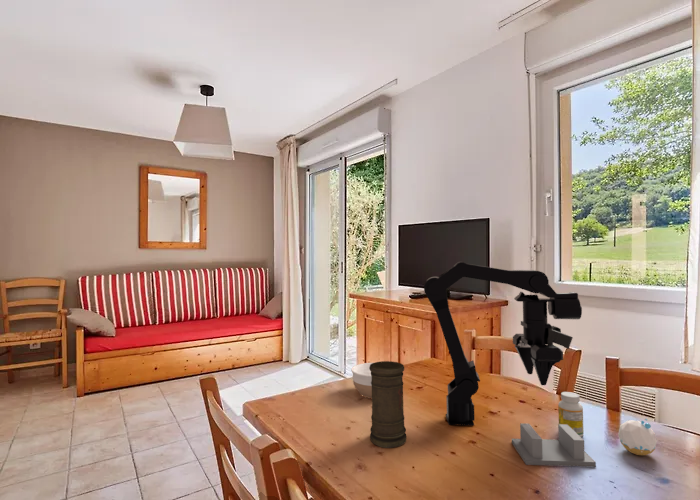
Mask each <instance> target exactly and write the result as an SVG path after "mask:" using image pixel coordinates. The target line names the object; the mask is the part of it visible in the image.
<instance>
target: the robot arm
mask: <svg viewBox="0 0 700 500" xmlns="http://www.w3.org/2000/svg"><path fill="white" fill-rule="evenodd" d="M462 278H469V279H475V280H481V281H487V282H493V283H499V284H505V285H510V286H512V287H515V288H518V289H522V290H523V291H527V292H530V293H533V294H525V293H524V292H523V291H519V293H518V294H517V295H516V296H515V297H514V300H515V301H516V302H520V303H521V302H522V320H520V325H521V326H522V327H523V328H522V330H523V332H522V333H515V334H514V335H513V336H512V344H513V345H514V348H515V349H516V351H517V354H518V356H519V358H520V360H521V362H522V364H523V367H524V368H525V370H526V373H527V375H533V372H534V370H535V372H536V374H537V378H538V381H539V383H540V385H541V386H546V385H547V382H548V380H549V377H550V374H551V370H552V368H553V366H554V365H556V364H557V363H560V362H561V361H563V360H564V352H563V350H562V349H561V348H560V347H558V346H556V345H559V346H561V347H563V348H565V349H570V346H571V344H572V341H573V339H574V338H573V336H572V335H568V334H566V333H563V332H562V331H561V328H560V327H558V326H555V325H551V323H548V315H549V316H552V317H553V319H554V320H580V319H581V318H582V313H583V308H582V305H581V302H580V299H579V293H578V292H575V291H574V292H573V291H572V292H571V291H570V292H556V291H555V290H554V288H553V287H552V286H551V285H550V284H549V279H548V278H549V277H548V276H547V275H546V273H545V272H543V271H540V270H536V269H535V270H534V269H516V270H515V269H513V270H511V269H502V268H497V267H492V266H491V267H489V266H484V265H478V264H477V265H476V264H471V263H467V262H463V261H458V262H457V263H455V264H454V265H453V266H451V268H449V269H447V270H445V271H444V272H443V273H441V274H440V275H439V276H436V275H435V276H431V277H429V278H428V279H426V281H425V283H424V286H423V292H424V294H425V295H426V297H427V299H428V301H429V303H430V305H431V307H432V308H433V310H434V312H435V314H436V316H437V318H438V322H439V325H440V328H441V331H442V333H443V334H442V335H443V338H444V340H445V344H446V346H447V349H448V352H449V355H450V359H451V362H452V367H453V376H454V378H453V379H452V380H451V381H450V382H449V383H448V384H447V395H446V413H445V418H446V421H447V423H448V425H449V426H475V423H474V422H475V416H476V415H475V404H474V403H473V399H472V396H474V395H475V394H476V393H477V392H478V390H479V383H480V382H481V380H480V376H479V373H478V372H477V371H476V370H477V369H476V365H475V364H476V363H475V362H474V360H470V361H469V360H468V358H467V357H466V355H465V352H464V349H463V346H462V343H461V340H460V337H459V334H458V331H457V328H456V324H455V322H454V319H453V316H452V313H451V311H450V307H449V306H450V305H449V299H448V293H447V289H448V288H450V287H451V286H452V285H454V284H455V283H457V282H458V281H460V280H462ZM537 294H540V295H542V296H544V297H546V298H539V296H538V295H537ZM554 344H556V345H554Z"/></svg>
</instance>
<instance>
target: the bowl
mask: <svg viewBox="0 0 700 500" xmlns="http://www.w3.org/2000/svg"><path fill="white" fill-rule="evenodd" d="M372 363H373V362H365V363H359V364H356V365H354V366H353V367H351V373H352V383H353V385H354V388H355V390H357V392H358V393H359V395H360V394H361V395H363V396H365V397H364V398H366V397H368V398H367V399H370V398H372V385H371V381H372V376H371V371H370V369H369V368H370V365H371V364H372ZM361 395H360V396H361ZM363 396H362V397H363Z"/></svg>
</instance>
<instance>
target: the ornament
mask: <svg viewBox="0 0 700 500" xmlns="http://www.w3.org/2000/svg"><path fill="white" fill-rule="evenodd" d="M645 421H648V419H647V418H645V419H644V420H641V421H640V420H634V419H633V420H632V419H631V420H630V419H628V420H626V421H625V422H623V423H622V424H620V426H619V430H618V434H617V435H618V438H619V442H620V444H621V445H622V447H624V449H625V450H627V451H628V452H630V453H631V454H634V455H637V456H647V455H650V454H652V453H653V452H654V451H655V450H656V447H657V436H656V433H655V432H654V430H653V429H652V425H651V423H649V422H646V423H645Z"/></svg>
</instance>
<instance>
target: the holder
mask: <svg viewBox="0 0 700 500" xmlns="http://www.w3.org/2000/svg"><path fill="white" fill-rule="evenodd" d="M557 425H558V427H557V428H558V431H557V432H558V439H547V438H546V439H543V438H542V437H541V436H540V435H539V433H537V431H536V430H535V429H534V428H533V426H532V425H531V424H530V423H520V430H519V431H520V432H519V433H520V436H519V437H520V438H511V444H512V446H513V447H514V448H515V450H516V452H517V453H518V454H519V456H520V458H521V459H522V460H523V462H524V464H525V465H527V466H529V465H530V466H550V467H552V466H556V467H559V466H561V467H581V468H582V467H585V468H588V467H589V468H596V467H597V463H596V460H594V458H592V457H591V456H590V455H589V454H588V453H587V452H586V450H585V440H584V438H582V437H580V436H579V435H578V434H577V433H576V432H575V431H574V430H573V429H572V428H571V427H569V426H568V425H567V424H559V423H558V424H557Z"/></svg>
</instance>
